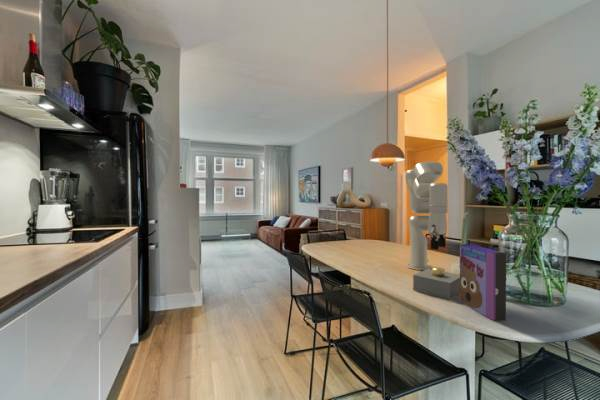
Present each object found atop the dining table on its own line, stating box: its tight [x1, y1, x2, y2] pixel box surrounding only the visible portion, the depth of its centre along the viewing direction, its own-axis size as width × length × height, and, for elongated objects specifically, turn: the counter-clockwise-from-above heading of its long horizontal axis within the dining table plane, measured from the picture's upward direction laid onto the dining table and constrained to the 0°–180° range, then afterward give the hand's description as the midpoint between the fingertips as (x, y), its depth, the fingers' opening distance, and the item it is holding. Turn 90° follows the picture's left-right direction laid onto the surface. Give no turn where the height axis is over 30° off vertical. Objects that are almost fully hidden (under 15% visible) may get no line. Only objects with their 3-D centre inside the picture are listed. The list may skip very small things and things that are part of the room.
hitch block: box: [412, 268, 460, 300], centre depth 127 cm, size 16×16×7 cm
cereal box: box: [459, 243, 507, 322], centre depth 105 cm, size 17×5×24 cm, turn 5°
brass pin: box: [431, 266, 446, 277], centre depth 127 cm, size 5×5×9 cm
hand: (438, 247), depth 127 cm, fingers open, 7 cm apart
